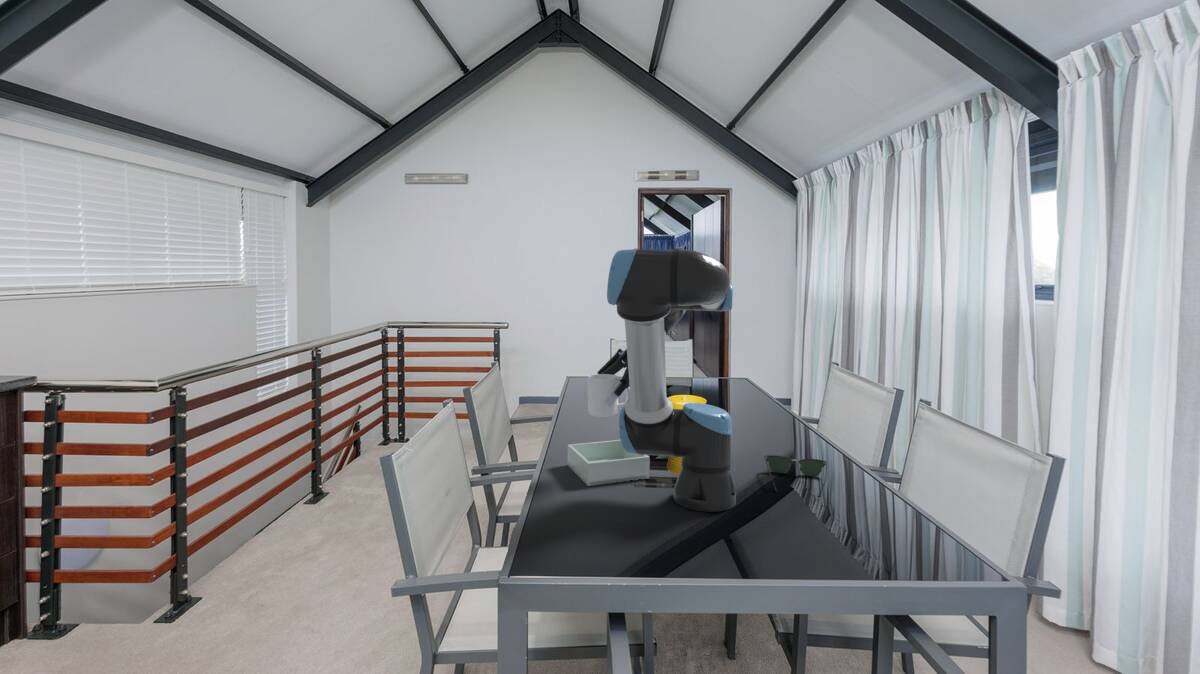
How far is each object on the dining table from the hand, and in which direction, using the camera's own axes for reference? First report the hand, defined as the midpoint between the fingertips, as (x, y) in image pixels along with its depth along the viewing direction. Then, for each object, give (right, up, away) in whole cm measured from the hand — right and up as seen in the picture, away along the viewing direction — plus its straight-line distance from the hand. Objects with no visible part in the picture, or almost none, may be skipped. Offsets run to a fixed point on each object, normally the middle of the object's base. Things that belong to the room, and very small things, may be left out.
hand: (597, 400), depth 160 cm
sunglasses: (+53, -22, -3) cm, 58 cm away
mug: (+3, -4, +1) cm, 5 cm away
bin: (+3, -20, +4) cm, 21 cm away
